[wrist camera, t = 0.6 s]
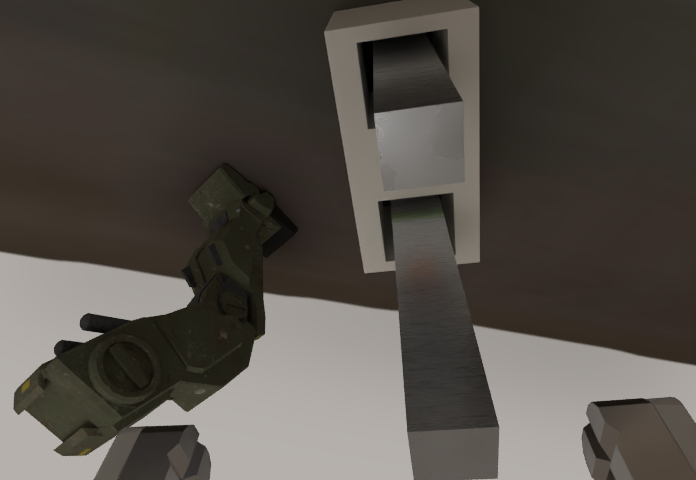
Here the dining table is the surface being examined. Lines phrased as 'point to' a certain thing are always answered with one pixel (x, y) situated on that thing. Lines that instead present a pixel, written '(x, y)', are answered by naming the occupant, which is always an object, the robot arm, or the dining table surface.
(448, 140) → the column
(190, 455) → the robot arm
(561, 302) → the dining table surface
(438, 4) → the frame
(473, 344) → the column
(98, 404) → the mechanical leg
